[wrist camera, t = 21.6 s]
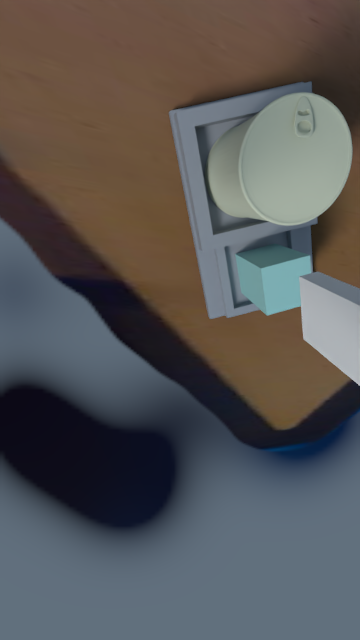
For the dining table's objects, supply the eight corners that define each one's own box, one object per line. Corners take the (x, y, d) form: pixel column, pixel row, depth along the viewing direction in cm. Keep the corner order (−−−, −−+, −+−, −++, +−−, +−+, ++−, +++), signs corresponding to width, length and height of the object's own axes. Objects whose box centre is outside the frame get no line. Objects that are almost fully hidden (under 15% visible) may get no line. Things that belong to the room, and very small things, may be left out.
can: (290, 124, 34) (368, 89, 23) (282, 216, 37) (346, 224, 26) (204, 124, 32) (243, 87, 21) (204, 219, 36) (237, 229, 25)
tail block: (241, 292, 40) (266, 315, 33) (235, 253, 38) (260, 268, 31) (279, 282, 40) (313, 302, 33) (275, 243, 38) (309, 255, 31)
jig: (168, 113, 33) (172, 106, 30) (298, 84, 33) (313, 74, 31) (208, 316, 41) (214, 325, 39) (309, 289, 42) (322, 296, 40)
